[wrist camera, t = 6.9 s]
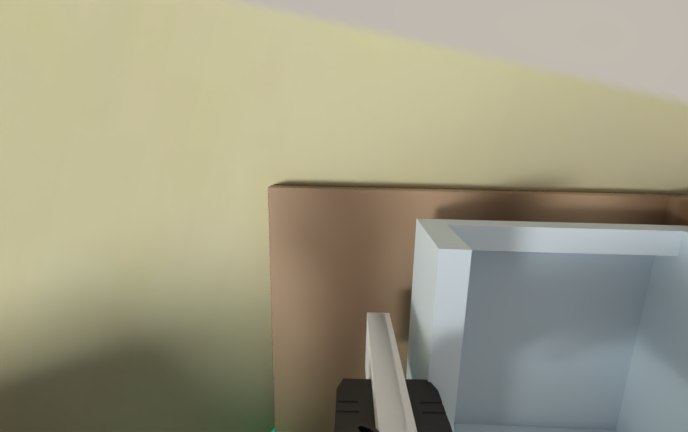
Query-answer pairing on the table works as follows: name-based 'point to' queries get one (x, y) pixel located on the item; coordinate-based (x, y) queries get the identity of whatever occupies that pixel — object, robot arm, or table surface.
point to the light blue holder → (552, 324)
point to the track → (383, 271)
